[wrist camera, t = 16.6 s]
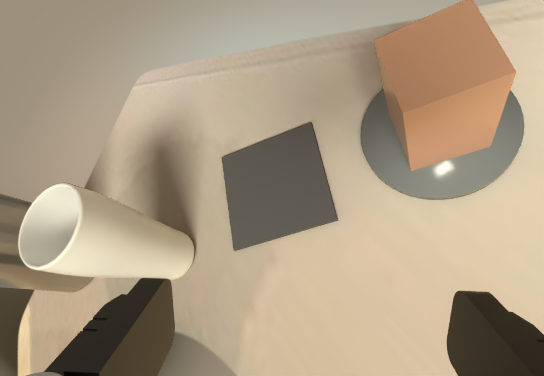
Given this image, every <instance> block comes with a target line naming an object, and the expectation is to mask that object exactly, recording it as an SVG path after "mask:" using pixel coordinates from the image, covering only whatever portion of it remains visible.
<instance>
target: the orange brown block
mask: <svg viewBox="0 0 544 376" xmlns="http://www.w3.org/2000/svg"><path fill="white" fill-rule="evenodd" d="M374 45H375V50H376V54H377V59H378V64H379V69H380V74H381V78H382V83H383V88H384V93H385V98H386V102H387V107H388V112H389V115H390V118H391V120H392V123H393V126H394V128H395V131H396V133H397V136H398V139H399V141H400V144H401V147H402V149H403V152H404V155H405V157H406V160H407V162H408V165H409V168H410V170H411V171H414V170H417V169H420V168H423V167H427V166H430V165H433V164H436V163H439V162H443V161H446V160H449V159H452V158H455V157H459V156H462V155H465V154H468V153H471V152H474V151H478V150H481V149H484V148H487V147H490V146H491V144H492V141H493V138H494V135H495V132H496V129H497V126H498V124H499V121H500V118H501V115H502V112H503V109H504V106H505V103H506V100H507V97H508V94H509V91H510V89H511V86H512V83H513V80H514V77H515V74H516V71H515V69H514V67H513V66H512V64H511V62H510V61H509V59H508V57H507V56H506V54H505V52H504V51H503V49H502V47H501V46H500V44H499V42H498V41H497V39H496V38H495V36H494V34H493V33H492V31H491V29H490V28H489V26H488V24H487V23H486V21H485V19H484V18H483V16H482V14H481V13H480V11H479V9H478V8H477V6H476V5H475V3H474V1H473V0H464V1H462V2H459V3H457V4H455V5H453V6H450V7H448V8H446V9H443V10H441V11H439V12H437V13H434V14H432V15H430V16H427V17H425V18H423V19H421V20H418V21H416V22H414V23H411V24H409V25H407V26H405V27H402V28H400V29H398V30H395V31H393V32H391V33H389V34H386V35H384V36H382V37H380V38H377V39H375V40H374Z"/></svg>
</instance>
